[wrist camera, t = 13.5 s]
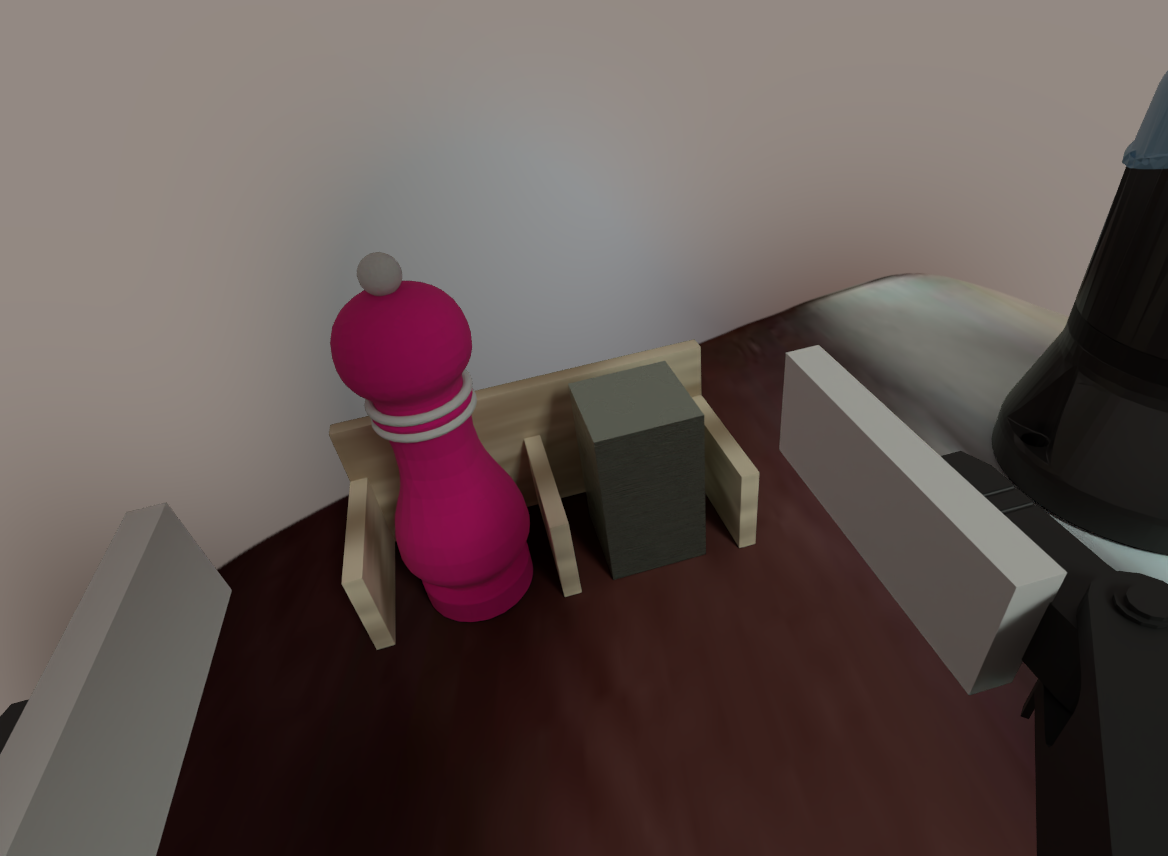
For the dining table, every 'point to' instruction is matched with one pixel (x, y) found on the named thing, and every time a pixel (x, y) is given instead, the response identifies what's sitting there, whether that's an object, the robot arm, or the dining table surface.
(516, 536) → the pepper mill
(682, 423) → the tea tin
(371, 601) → the spice rack
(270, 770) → the dining table surface
